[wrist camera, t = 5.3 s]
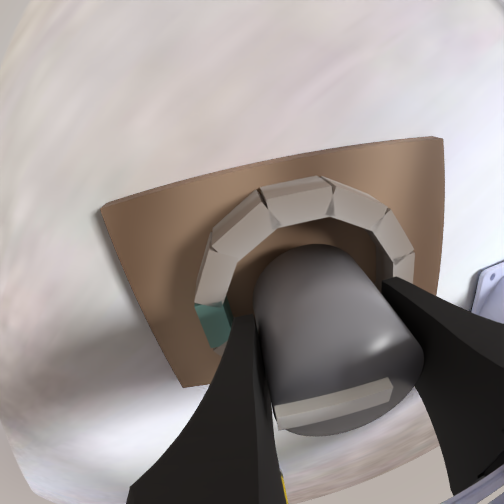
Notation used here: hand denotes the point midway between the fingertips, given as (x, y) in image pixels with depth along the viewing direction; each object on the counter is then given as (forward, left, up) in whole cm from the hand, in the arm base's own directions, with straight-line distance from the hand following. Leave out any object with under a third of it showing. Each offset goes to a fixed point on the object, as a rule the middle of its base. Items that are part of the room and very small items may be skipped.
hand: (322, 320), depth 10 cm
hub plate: (0, 0, -3) cm, 3 cm away
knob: (0, 0, -2) cm, 2 cm away
